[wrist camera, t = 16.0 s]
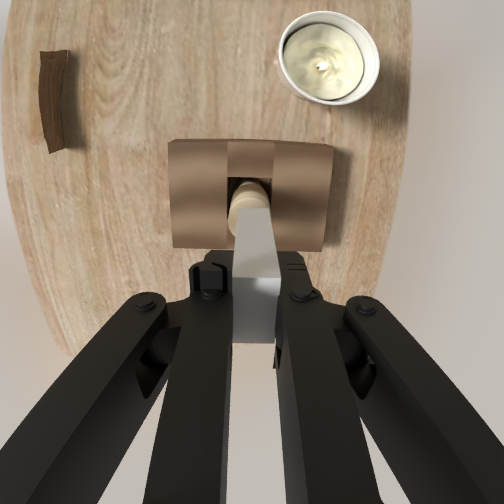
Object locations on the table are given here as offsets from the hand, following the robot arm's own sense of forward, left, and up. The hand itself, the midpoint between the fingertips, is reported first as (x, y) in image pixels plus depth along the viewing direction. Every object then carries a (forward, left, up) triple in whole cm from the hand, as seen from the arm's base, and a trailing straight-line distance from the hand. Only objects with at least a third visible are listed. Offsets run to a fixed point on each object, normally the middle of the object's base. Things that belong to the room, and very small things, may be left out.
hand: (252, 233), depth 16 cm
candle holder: (-12, +7, -27) cm, 30 cm away
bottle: (+5, 0, -26) cm, 27 cm away
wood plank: (-10, -28, -27) cm, 40 cm away
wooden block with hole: (+5, 0, -26) cm, 27 cm away
